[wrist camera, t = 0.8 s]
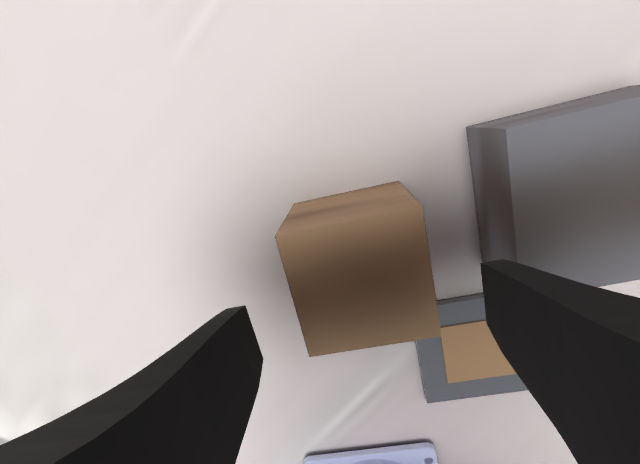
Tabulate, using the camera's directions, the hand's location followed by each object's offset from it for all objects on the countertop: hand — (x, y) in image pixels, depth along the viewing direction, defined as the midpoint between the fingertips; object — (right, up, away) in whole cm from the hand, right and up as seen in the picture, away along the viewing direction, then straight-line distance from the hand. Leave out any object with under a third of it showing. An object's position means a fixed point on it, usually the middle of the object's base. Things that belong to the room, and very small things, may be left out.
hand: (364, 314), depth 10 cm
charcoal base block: (+9, +5, +5) cm, 11 cm away
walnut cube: (0, +2, +6) cm, 7 cm away
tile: (+7, -4, +8) cm, 11 cm away
